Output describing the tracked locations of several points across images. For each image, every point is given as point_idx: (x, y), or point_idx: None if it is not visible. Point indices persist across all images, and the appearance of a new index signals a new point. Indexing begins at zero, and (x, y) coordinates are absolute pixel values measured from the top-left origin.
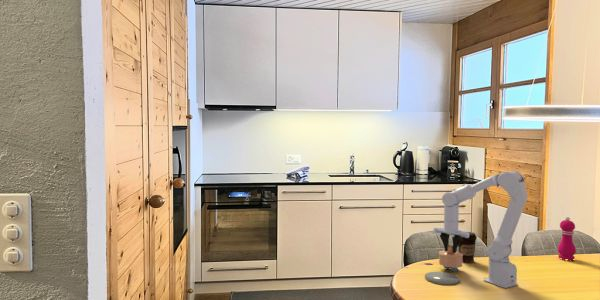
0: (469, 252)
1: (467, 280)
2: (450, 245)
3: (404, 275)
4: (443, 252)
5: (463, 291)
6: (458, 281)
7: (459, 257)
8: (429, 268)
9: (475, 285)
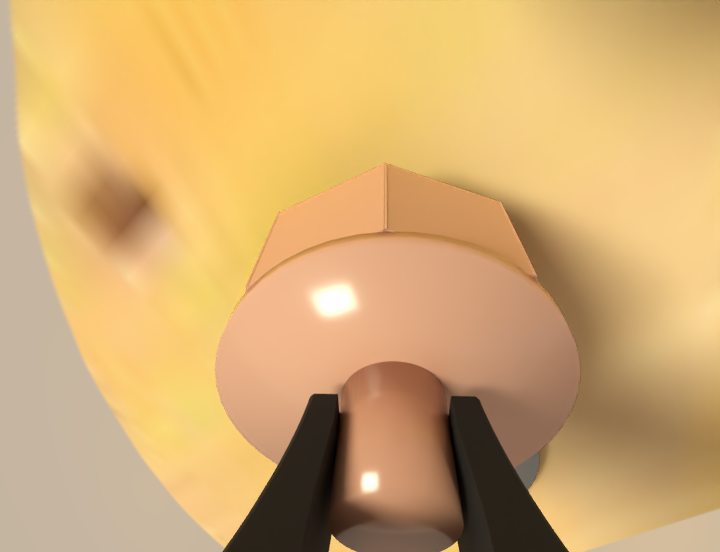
0: None
1: (589, 393)
2: (387, 526)
3: (212, 507)
4: (292, 413)
5: (581, 528)
6: (536, 467)
7: (540, 433)
8: None
9: (652, 439)
